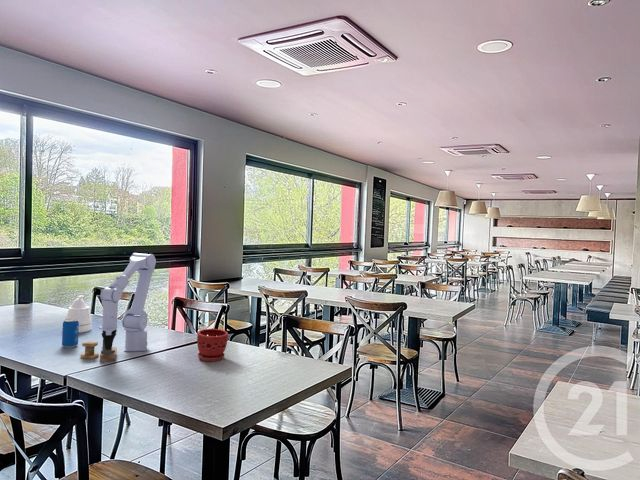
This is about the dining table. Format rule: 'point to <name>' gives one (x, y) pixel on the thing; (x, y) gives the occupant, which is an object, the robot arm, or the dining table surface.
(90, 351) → the spool
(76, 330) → the beverage can
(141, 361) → the dining table surface
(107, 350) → the grey rectangular block
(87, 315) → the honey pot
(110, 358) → the block with rectangular opening
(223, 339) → the plant pot
